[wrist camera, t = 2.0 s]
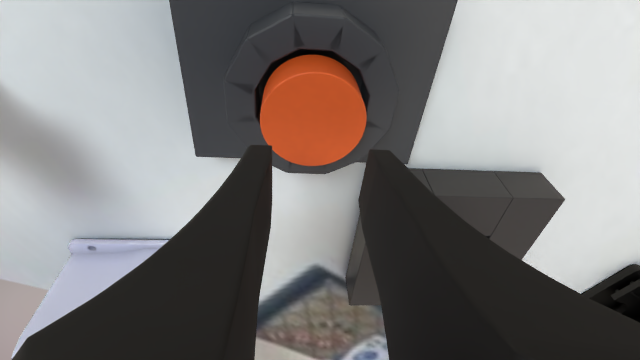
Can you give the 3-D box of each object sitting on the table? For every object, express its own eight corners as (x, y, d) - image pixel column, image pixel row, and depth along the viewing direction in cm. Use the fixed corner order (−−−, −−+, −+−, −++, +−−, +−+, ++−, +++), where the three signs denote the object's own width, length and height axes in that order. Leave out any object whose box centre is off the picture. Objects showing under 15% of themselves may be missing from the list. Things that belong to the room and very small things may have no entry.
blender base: (345, 277, 27) (349, 305, 25) (369, 166, 20) (377, 194, 19) (476, 276, 28) (489, 304, 27) (541, 172, 22) (565, 199, 20)
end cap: (585, 331, 36) (635, 404, 31) (540, 317, 34) (585, 395, 28) (684, 278, 31) (764, 357, 25) (639, 258, 28) (717, 340, 23)
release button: (263, 141, 15) (260, 165, 14) (262, 50, 13) (258, 68, 11) (352, 144, 16) (357, 168, 14) (367, 57, 13) (376, 75, 12)
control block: (202, 138, 19) (187, 179, 16) (176, -34, 14) (147, -17, 11) (400, 146, 20) (417, 186, 17) (443, -10, 15) (478, 10, 12)
